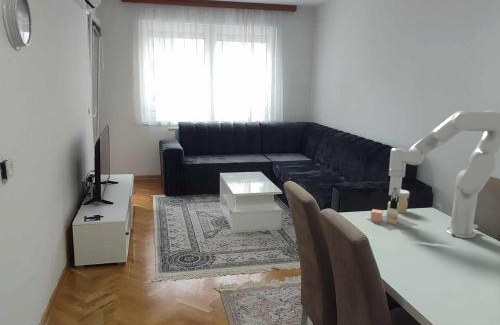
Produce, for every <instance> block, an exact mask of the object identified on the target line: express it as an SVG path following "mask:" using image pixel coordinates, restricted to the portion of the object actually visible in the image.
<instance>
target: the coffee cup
mask: <svg viewBox="0 0 500 325" xmlns="http://www.w3.org/2000/svg"><path fill="white" fill-rule="evenodd" d="M410 193H411V192H410V191H409V190H406V189H402V188H401V190H400V194H399V201H398V203H399V209H398V213H400V214H401V213H406V212H407V210H408V205H409V199H410Z"/></svg>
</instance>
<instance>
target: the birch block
mask: <svg viewBox="0 0 500 325" xmlns="http://www.w3.org/2000/svg"><path fill="white" fill-rule="evenodd" d="M390 203H391V200H390V201H388V202H387V210H386V214H387V213H388V214H395V215H399V212H398V209H399V203H398V202H397V209H393V208H390Z"/></svg>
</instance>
